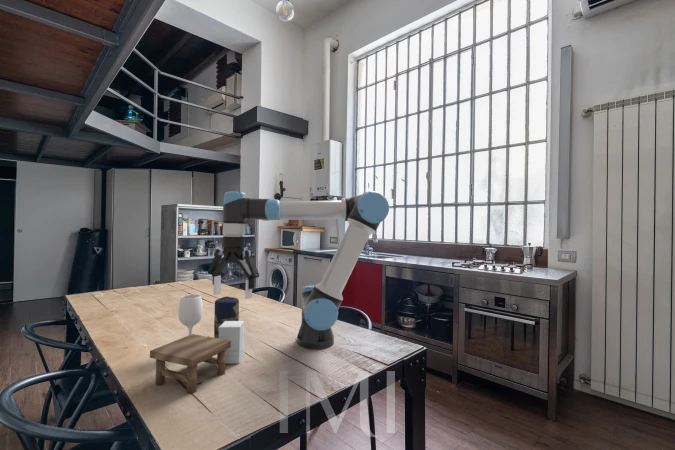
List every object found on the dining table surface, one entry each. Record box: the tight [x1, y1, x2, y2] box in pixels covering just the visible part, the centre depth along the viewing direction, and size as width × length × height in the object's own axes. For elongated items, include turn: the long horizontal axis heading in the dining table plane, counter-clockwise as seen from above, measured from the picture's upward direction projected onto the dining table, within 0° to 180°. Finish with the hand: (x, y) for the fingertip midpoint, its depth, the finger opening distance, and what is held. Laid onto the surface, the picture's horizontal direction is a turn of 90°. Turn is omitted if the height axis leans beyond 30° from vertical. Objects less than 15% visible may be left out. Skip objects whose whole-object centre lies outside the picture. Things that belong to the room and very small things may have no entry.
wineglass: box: [177, 293, 204, 336], centre depth 117 cm, size 9×9×21 cm
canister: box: [213, 296, 240, 339], centre depth 131 cm, size 10×10×18 cm
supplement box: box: [218, 320, 245, 364], centre depth 113 cm, size 7×7×13 cm
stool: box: [149, 333, 231, 394], centre depth 99 cm, size 16×16×10 cm
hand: (232, 296), depth 113 cm, fingers open, 13 cm apart
